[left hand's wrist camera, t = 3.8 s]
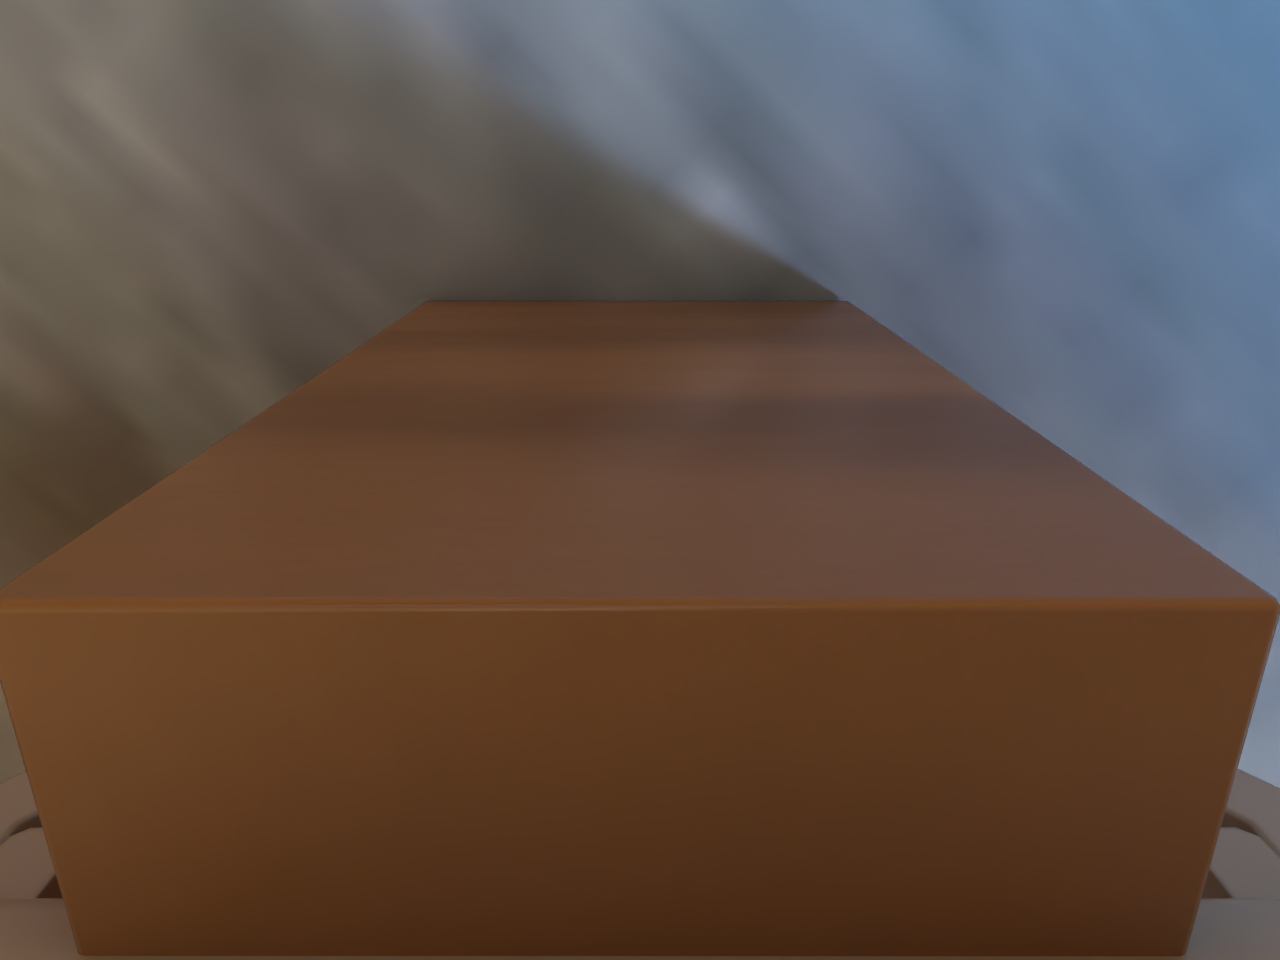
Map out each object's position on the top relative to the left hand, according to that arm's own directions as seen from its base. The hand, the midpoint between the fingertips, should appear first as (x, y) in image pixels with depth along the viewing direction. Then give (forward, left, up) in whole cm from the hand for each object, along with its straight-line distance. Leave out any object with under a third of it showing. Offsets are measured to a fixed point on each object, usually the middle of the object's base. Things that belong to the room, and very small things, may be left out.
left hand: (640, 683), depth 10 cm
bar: (+7, +7, -3) cm, 11 cm away
